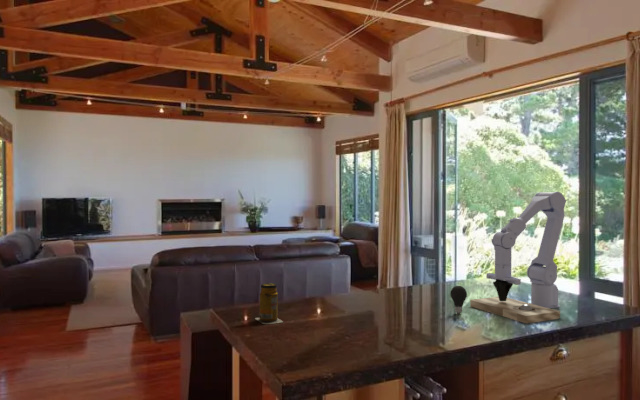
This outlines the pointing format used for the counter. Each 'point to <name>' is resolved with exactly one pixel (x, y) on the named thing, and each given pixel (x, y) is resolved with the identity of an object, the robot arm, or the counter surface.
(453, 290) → the light bulb
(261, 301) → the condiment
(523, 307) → the ball
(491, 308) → the deck
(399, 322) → the counter surface
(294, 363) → the counter surface
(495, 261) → the robot arm
